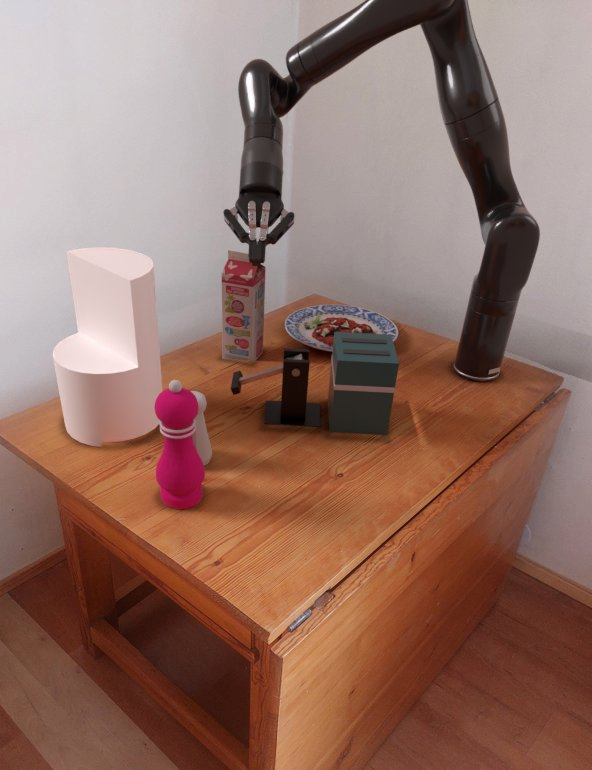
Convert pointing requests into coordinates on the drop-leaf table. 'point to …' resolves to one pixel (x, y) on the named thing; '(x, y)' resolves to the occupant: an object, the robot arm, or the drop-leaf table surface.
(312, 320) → the ceramic plate
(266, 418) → the bracket
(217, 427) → the drop-leaf table surface
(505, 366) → the drop-leaf table surface
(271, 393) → the drop-leaf table surface
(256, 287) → the juice carton
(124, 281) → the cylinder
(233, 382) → the lever
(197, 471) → the pepper mill
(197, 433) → the salt shaker
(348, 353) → the toaster
